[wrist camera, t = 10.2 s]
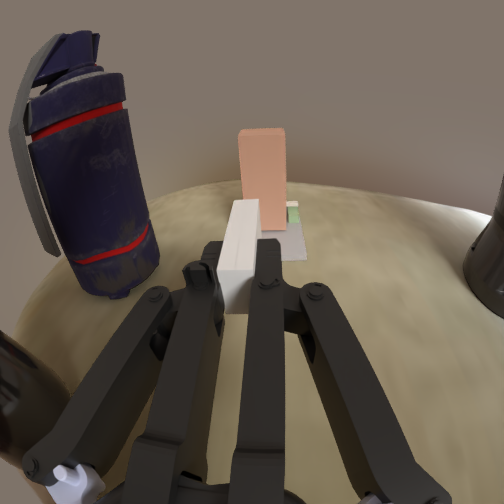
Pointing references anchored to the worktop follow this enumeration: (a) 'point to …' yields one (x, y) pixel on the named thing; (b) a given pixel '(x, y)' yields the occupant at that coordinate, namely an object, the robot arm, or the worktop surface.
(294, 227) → the gauge base
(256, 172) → the tall salmon pillar
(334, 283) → the worktop surface
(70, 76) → the navy red-striped canister
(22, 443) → the pump dispenser
